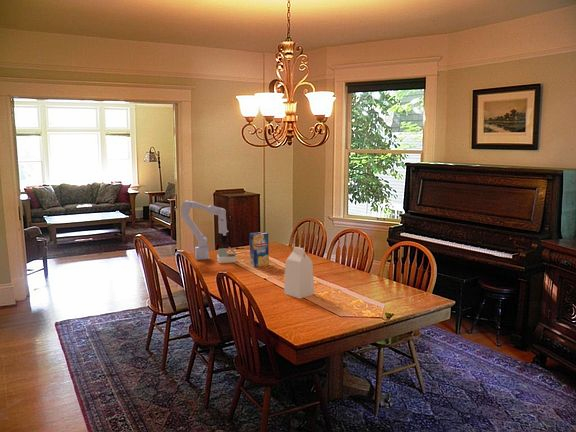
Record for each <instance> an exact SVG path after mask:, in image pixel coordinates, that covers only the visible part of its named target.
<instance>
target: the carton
mask: <svg viewBox="0 0 576 432" xmlns="http://www.w3.org/2000/svg"><path fill="white" fill-rule="evenodd" d="M216 260H217V262H218V264H229V263H237V255H235V254H234V253H227V256H223V257H219V254H216Z"/></svg>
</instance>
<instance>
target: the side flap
mask: <svg viewBox="0 0 576 432" xmlns="http://www.w3.org/2000/svg"><path fill="white" fill-rule="evenodd" d="M227 248H228V249H229V250H230V251H231V253H232V254H234V255H235V256H237V253H236V252H235V250H233V249H232V247H230V246H228V247H227Z"/></svg>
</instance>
